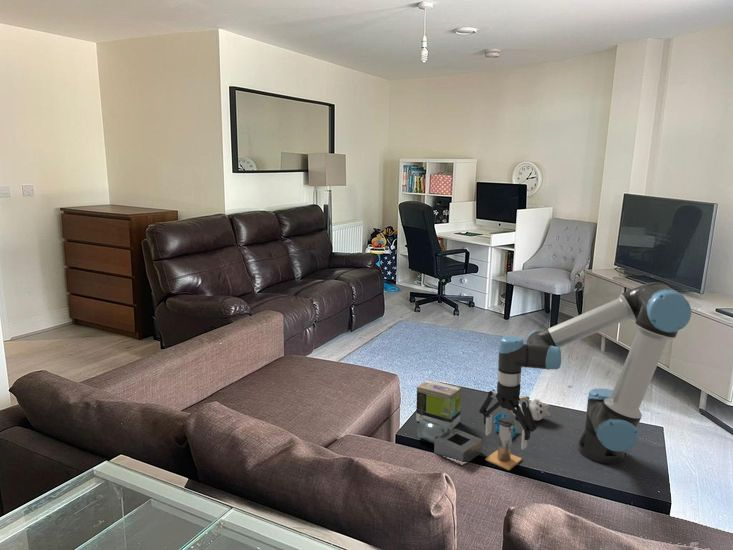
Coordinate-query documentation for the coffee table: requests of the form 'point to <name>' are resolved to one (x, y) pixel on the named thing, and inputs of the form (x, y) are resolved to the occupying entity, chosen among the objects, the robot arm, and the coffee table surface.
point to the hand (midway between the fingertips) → (505, 440)
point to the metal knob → (505, 439)
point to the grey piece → (450, 441)
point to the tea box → (439, 403)
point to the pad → (505, 465)
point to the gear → (498, 423)
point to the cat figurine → (536, 408)
